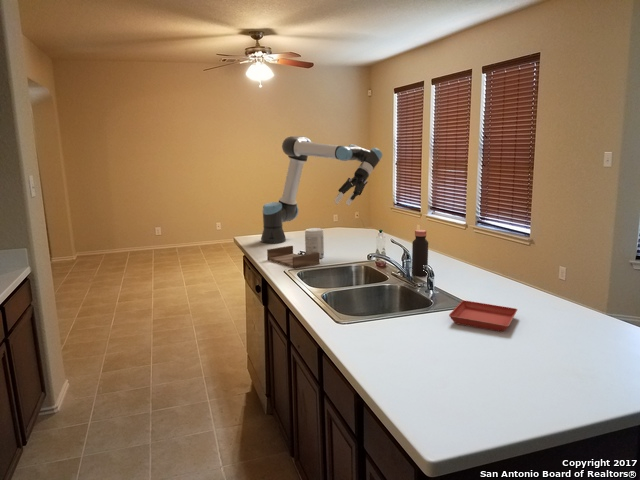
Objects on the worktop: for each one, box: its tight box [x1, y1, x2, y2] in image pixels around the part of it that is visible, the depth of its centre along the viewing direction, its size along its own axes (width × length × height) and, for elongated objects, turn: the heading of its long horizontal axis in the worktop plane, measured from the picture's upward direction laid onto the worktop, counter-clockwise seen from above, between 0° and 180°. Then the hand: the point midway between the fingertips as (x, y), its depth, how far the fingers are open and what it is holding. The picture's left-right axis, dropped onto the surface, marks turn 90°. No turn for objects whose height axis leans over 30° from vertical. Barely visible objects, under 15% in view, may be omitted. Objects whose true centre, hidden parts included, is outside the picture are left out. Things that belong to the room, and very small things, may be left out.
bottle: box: [411, 229, 429, 278], centre depth 207 cm, size 7×7×20 cm
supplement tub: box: [304, 227, 325, 259], centre depth 245 cm, size 10×10×15 cm
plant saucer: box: [448, 300, 518, 332], centre depth 153 cm, size 18×18×3 cm
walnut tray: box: [266, 245, 321, 269], centre depth 237 cm, size 24×15×6 cm, turn 38°
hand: (341, 203), depth 253 cm, fingers open, 9 cm apart
